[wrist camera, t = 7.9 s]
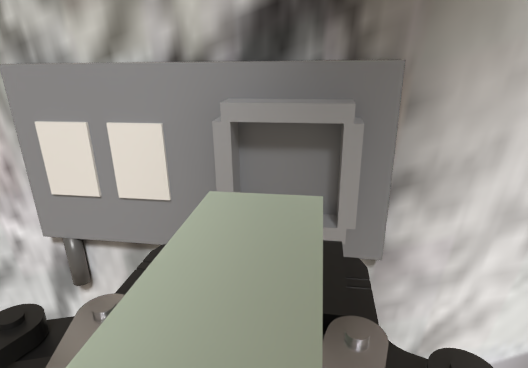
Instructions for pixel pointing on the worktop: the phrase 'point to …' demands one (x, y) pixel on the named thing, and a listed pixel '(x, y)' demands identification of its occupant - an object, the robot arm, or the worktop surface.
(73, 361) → the block
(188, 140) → the power strip
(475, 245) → the worktop surface
